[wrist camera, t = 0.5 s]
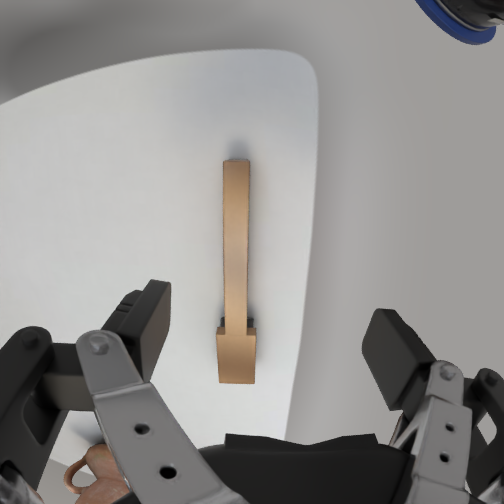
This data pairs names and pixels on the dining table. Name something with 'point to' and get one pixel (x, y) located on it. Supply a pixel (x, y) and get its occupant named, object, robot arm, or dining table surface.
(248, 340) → the brush
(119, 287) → the dining table surface
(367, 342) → the robot arm
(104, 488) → the ceramic jug
